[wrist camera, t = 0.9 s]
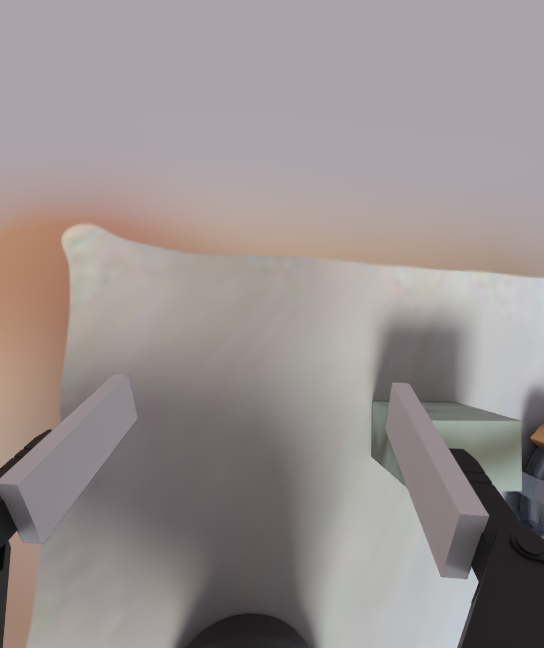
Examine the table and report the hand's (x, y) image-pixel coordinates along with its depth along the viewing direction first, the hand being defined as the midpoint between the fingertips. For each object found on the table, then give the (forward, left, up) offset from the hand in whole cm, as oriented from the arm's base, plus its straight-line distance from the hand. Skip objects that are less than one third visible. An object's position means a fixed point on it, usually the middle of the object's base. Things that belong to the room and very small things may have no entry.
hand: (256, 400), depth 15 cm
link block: (-6, -19, -17) cm, 26 cm away
